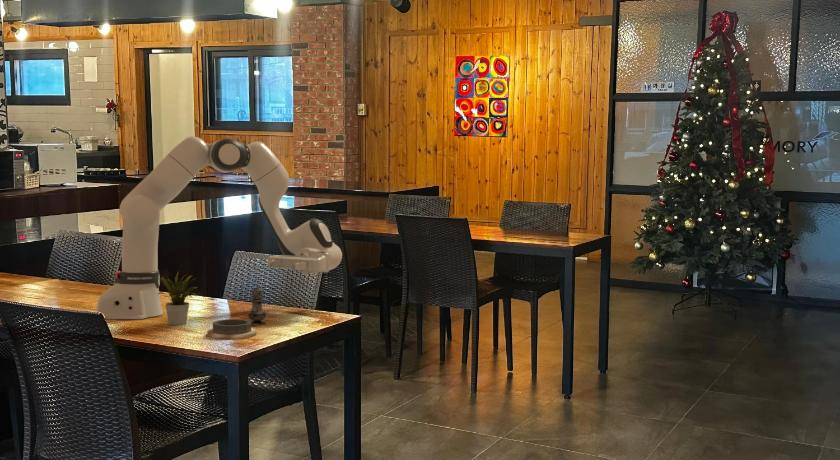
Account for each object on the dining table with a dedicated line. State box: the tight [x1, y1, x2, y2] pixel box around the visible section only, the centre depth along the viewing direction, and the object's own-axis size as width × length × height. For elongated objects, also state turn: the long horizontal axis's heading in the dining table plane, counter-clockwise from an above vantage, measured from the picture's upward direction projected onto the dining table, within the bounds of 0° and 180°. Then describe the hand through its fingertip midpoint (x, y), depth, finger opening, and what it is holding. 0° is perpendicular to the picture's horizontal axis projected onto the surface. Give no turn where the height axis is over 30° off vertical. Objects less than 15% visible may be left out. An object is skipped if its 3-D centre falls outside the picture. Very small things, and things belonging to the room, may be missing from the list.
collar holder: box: [206, 318, 258, 340], centre depth 270 cm, size 14×14×4 cm
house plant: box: [153, 270, 198, 326], centre depth 284 cm, size 14×14×16 cm
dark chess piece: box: [247, 285, 268, 326], centre depth 287 cm, size 6×6×12 cm
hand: (282, 265), depth 297 cm, fingers open, 8 cm apart
